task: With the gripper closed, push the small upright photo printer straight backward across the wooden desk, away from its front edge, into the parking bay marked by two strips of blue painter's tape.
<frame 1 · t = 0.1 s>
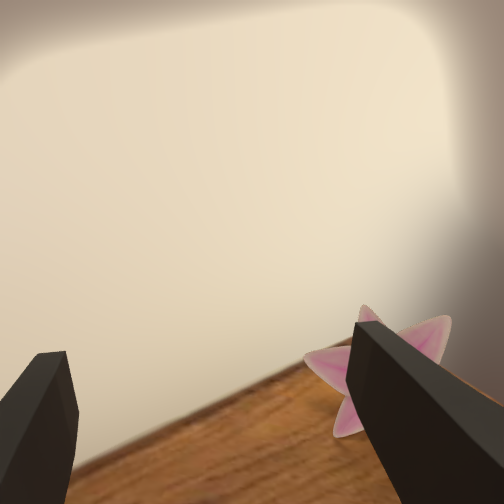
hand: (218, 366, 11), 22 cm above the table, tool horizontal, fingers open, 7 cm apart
lily: (379, 424, 38), on the table
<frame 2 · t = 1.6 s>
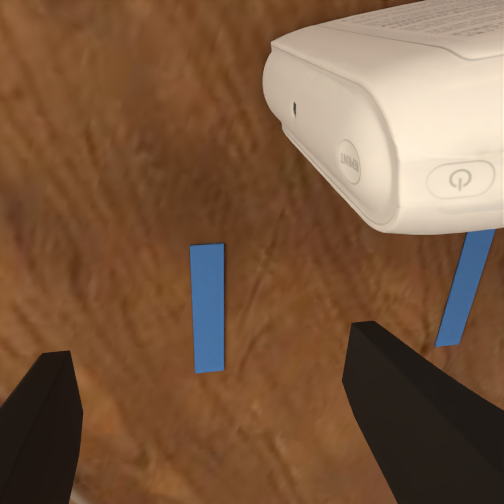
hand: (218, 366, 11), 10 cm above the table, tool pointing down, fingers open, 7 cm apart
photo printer: (376, 63, 19), on the table
tape marks: (342, 300, 25), on the table
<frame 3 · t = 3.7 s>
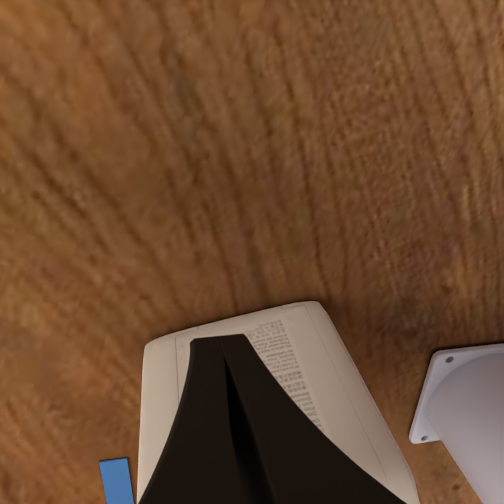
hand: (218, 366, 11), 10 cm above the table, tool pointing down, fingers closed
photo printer: (236, 339, 25), on the table
tape marks: (233, 482, 30), on the table
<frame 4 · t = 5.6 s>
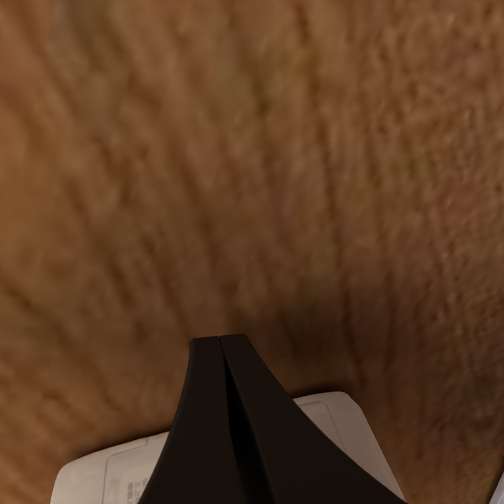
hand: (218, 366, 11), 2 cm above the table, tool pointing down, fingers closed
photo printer: (213, 447, 15), on the table, touching gripper
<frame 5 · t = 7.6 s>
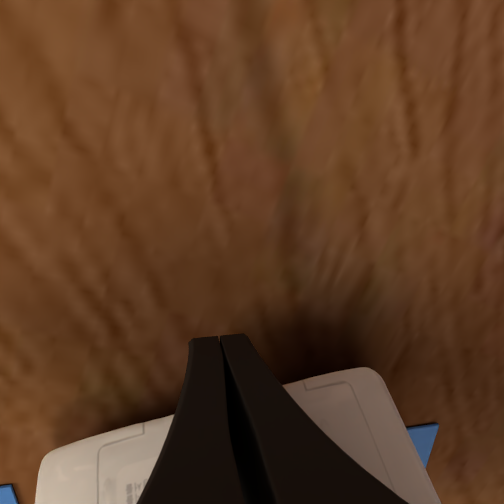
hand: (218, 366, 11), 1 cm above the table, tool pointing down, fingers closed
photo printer: (216, 416, 14), on the table, touching gripper
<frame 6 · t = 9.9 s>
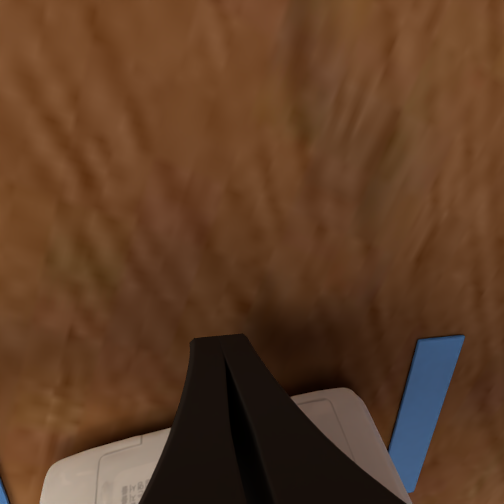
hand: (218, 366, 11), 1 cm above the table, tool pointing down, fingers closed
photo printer: (210, 441, 15), on the table, touching gripper
tape marks: (213, 452, 15), on the table
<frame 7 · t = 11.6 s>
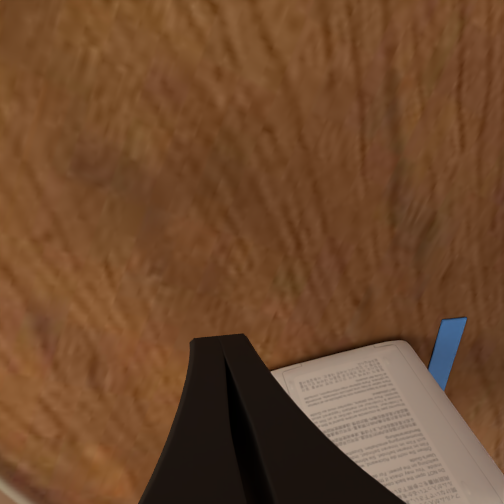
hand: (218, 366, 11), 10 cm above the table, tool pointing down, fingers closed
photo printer: (328, 373, 27), on the table
tape marks: (329, 382, 28), on the table
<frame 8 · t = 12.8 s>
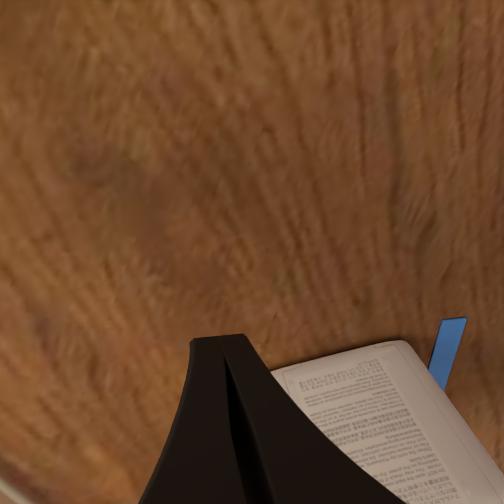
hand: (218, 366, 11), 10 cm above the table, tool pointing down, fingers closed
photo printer: (328, 373, 27), on the table
tape marks: (329, 382, 28), on the table
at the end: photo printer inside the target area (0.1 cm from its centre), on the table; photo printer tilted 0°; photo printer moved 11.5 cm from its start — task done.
